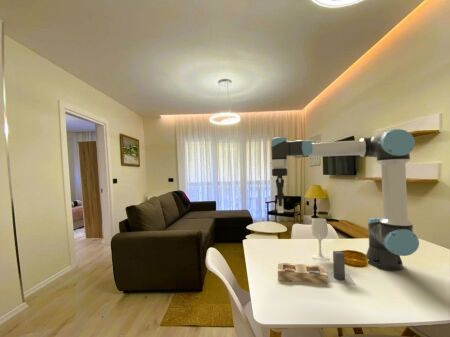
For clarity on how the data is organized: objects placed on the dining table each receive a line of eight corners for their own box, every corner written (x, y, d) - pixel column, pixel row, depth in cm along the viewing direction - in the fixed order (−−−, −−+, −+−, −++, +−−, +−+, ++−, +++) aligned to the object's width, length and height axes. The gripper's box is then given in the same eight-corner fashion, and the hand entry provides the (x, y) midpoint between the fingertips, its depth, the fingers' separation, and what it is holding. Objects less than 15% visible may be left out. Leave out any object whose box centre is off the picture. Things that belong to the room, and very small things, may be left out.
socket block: (323, 274, 100) (323, 264, 100) (327, 284, 91) (327, 273, 91) (278, 270, 105) (278, 261, 105) (278, 279, 96) (277, 269, 96)
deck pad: (348, 274, 99) (348, 273, 99) (355, 285, 90) (355, 284, 90) (324, 272, 102) (324, 271, 102) (329, 283, 92) (329, 282, 92)
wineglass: (311, 259, 117) (310, 220, 117) (312, 254, 125) (310, 217, 125) (329, 262, 114) (328, 221, 114) (328, 256, 122) (327, 218, 122)
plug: (343, 276, 97) (342, 251, 97) (346, 280, 93) (345, 254, 93) (332, 275, 98) (331, 250, 99) (335, 279, 94) (334, 254, 94)
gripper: (272, 168, 123) (273, 206, 123) (270, 167, 99) (271, 214, 99) (286, 168, 121) (287, 206, 121) (287, 167, 97) (289, 215, 97)
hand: (280, 210), depth 110 cm, fingers open, 13 cm apart
